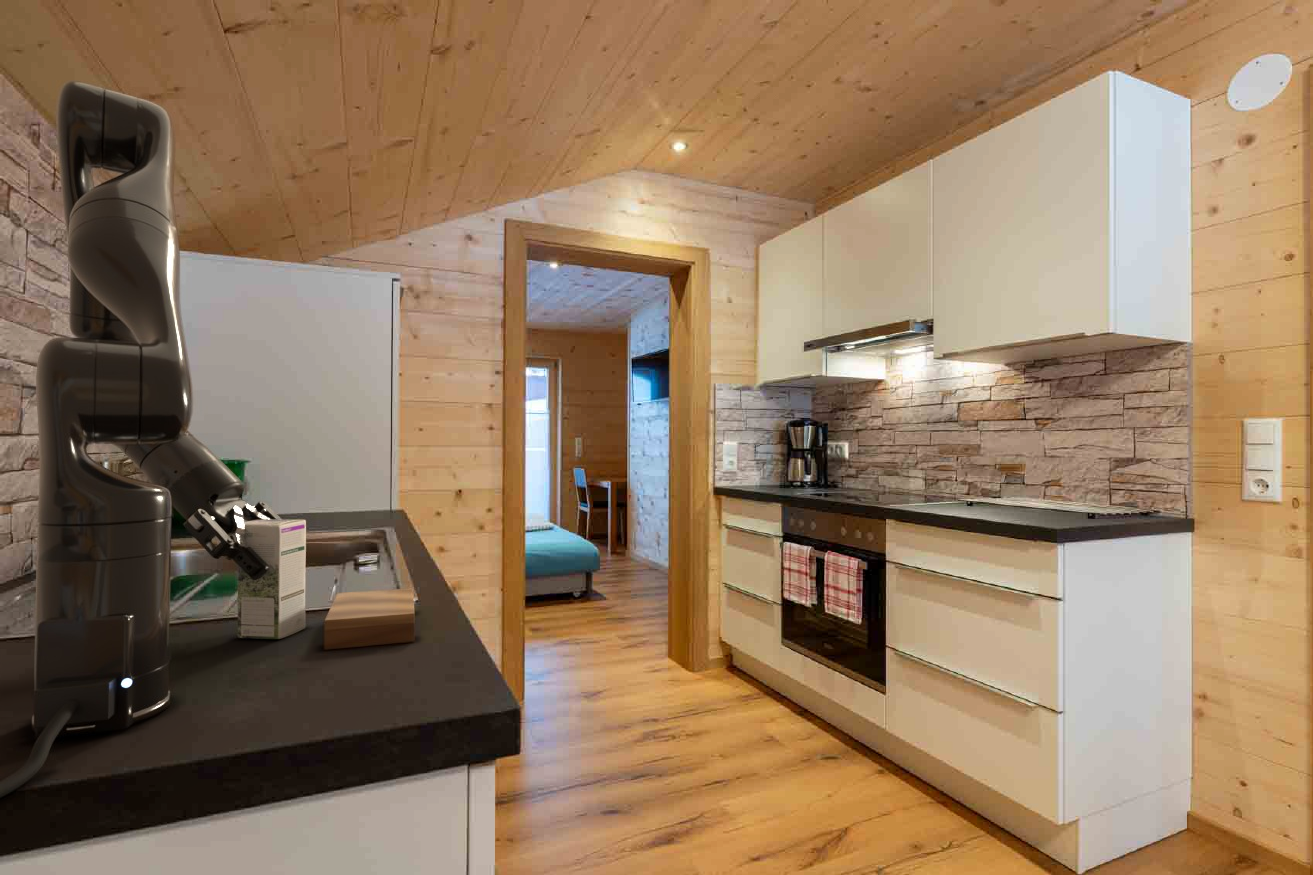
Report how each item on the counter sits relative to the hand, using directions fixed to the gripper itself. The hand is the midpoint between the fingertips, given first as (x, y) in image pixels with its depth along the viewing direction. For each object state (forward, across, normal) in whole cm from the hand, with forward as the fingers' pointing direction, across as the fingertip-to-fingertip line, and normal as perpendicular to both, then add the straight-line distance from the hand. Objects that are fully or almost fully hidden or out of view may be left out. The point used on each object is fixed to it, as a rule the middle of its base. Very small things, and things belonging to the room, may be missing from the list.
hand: (282, 568), depth 86 cm
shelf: (+14, +2, -2) cm, 14 cm away
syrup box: (+5, 0, +7) cm, 9 cm away
